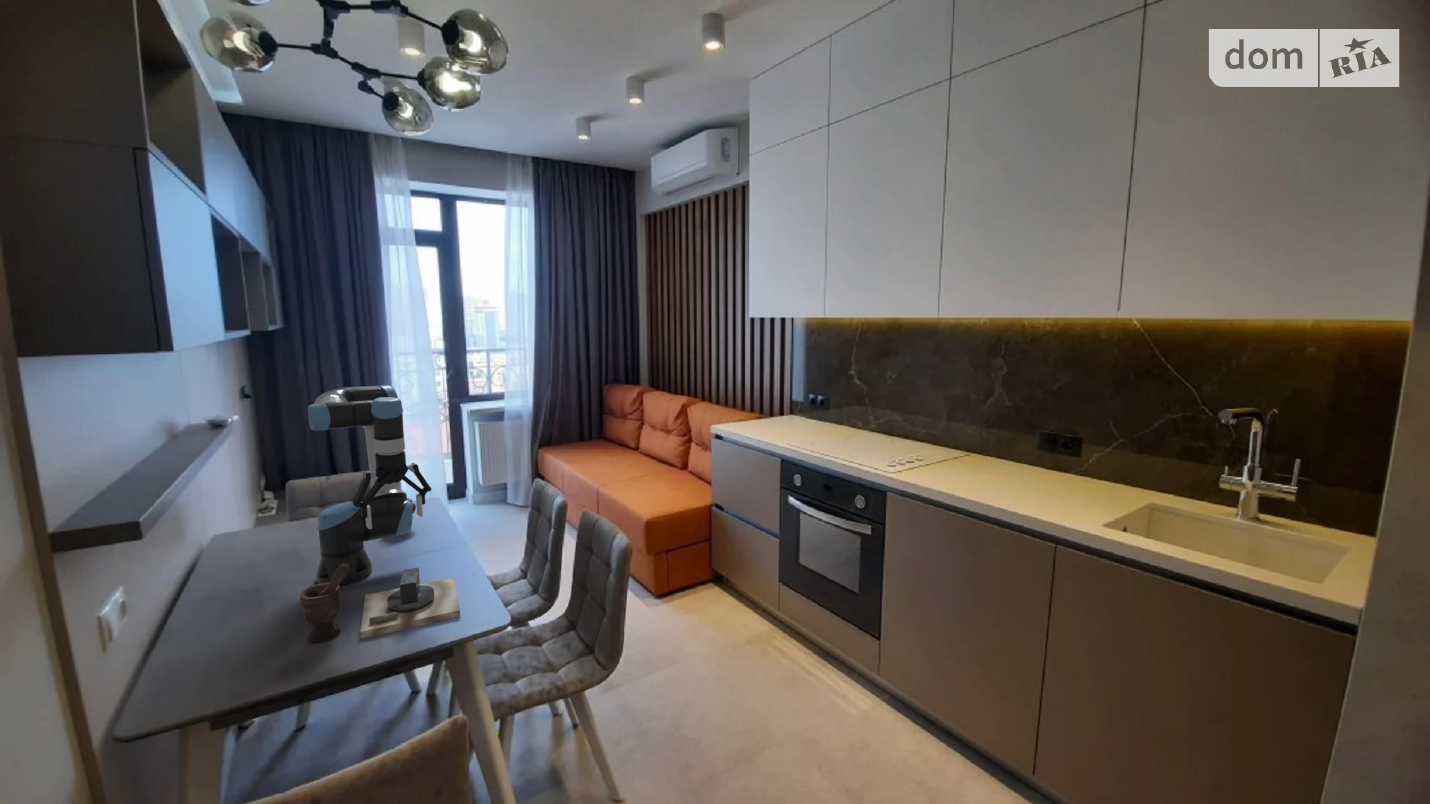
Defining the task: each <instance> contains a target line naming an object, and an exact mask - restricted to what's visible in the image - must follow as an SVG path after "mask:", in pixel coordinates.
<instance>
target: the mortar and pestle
mask: <svg viewBox="0 0 1430 804" xmlns="http://www.w3.org/2000/svg"><path fill="white" fill-rule="evenodd" d="M350 568H351V567H350V565H348V564H345V563H344V564H341V565H340V566H339V567H338V568H337V570H336V572H335V573H334V575H333V577H332V579H331V581H330V582H327V583H320V584H318V583H317V584H311V585H309V586H307V587H306V588H304V589H303V590H301V591H300V595H299V598H300V606H301V613H302V616H303V618H304V620H305V622H306V623H307V624H309V625H311V626H312V627H311V628H310V630H309V631H308V633H307V635H306V640H307V642H308V643H311V644H317V643H322V642H323V643H324V642H326V641H329V640H331V639H333V638H335V637H337V636H339V635H340V633H341V627H340V625H339V624H338V623H336V622H334V619H335V618H337V617H338V615H339V611H340V607H341V595H340V594H341V585H339V583H340V582H341V581H342V580H343V579H344V577H345V576H346V575H347V574H348V573H349V571H350Z"/></svg>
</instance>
